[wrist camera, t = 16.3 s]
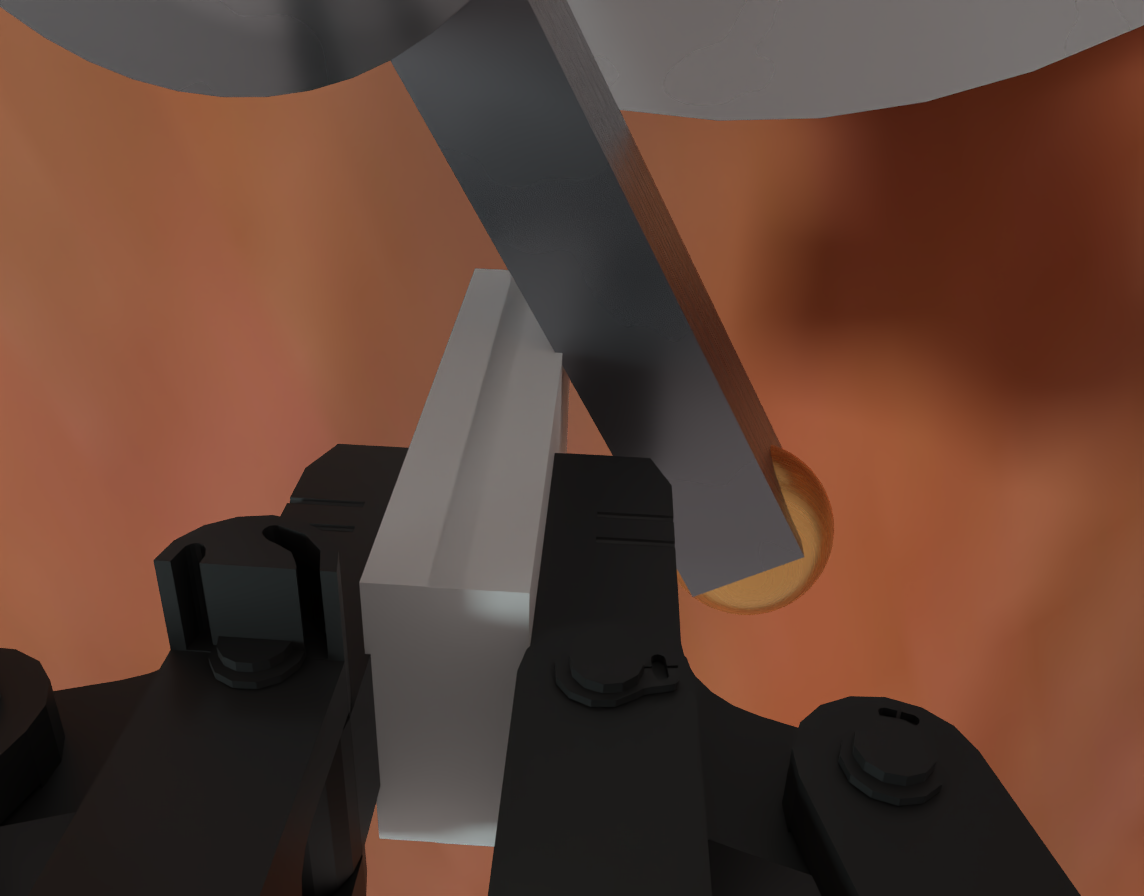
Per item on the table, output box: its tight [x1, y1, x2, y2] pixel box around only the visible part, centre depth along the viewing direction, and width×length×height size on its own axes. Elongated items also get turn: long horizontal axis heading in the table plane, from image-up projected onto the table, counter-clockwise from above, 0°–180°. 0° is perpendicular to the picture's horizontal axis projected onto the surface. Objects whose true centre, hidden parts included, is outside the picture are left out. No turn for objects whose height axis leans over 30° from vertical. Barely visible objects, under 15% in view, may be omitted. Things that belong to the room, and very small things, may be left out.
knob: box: [0, 0, 834, 615], centre depth 11 cm, size 13×5×6 cm, turn 27°
